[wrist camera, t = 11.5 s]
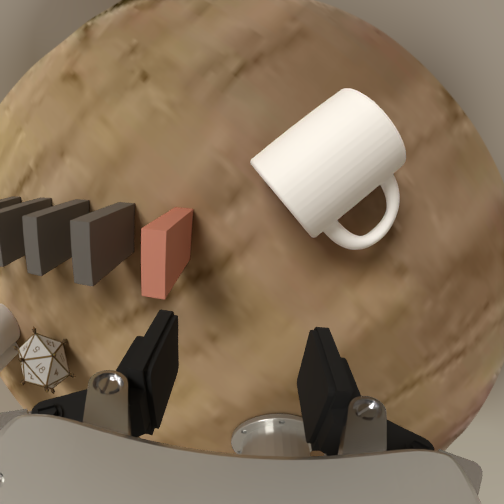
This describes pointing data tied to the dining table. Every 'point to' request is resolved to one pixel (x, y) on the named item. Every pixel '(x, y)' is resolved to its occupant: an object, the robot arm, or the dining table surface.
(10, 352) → the vase
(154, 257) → the red tile
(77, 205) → the dark gray domino tile
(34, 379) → the game die
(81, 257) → the black tile
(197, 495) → the robot arm
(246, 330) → the dining table surface
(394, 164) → the mug
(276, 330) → the dining table surface
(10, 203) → the black tile
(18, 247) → the black tile
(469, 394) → the dining table surface
